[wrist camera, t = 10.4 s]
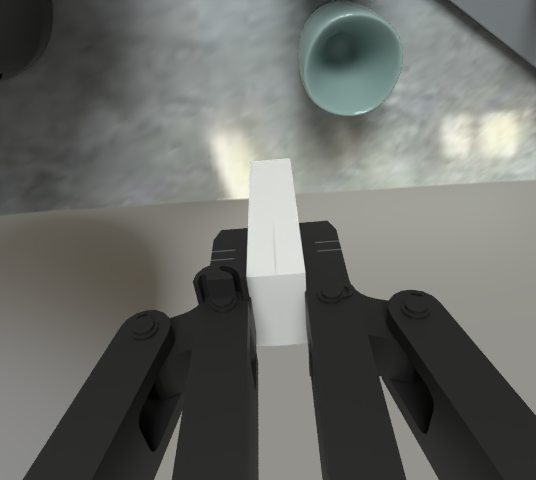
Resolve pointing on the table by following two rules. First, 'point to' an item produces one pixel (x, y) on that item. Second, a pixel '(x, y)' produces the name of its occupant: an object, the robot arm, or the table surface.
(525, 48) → the stand
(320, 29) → the cup
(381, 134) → the table surface
